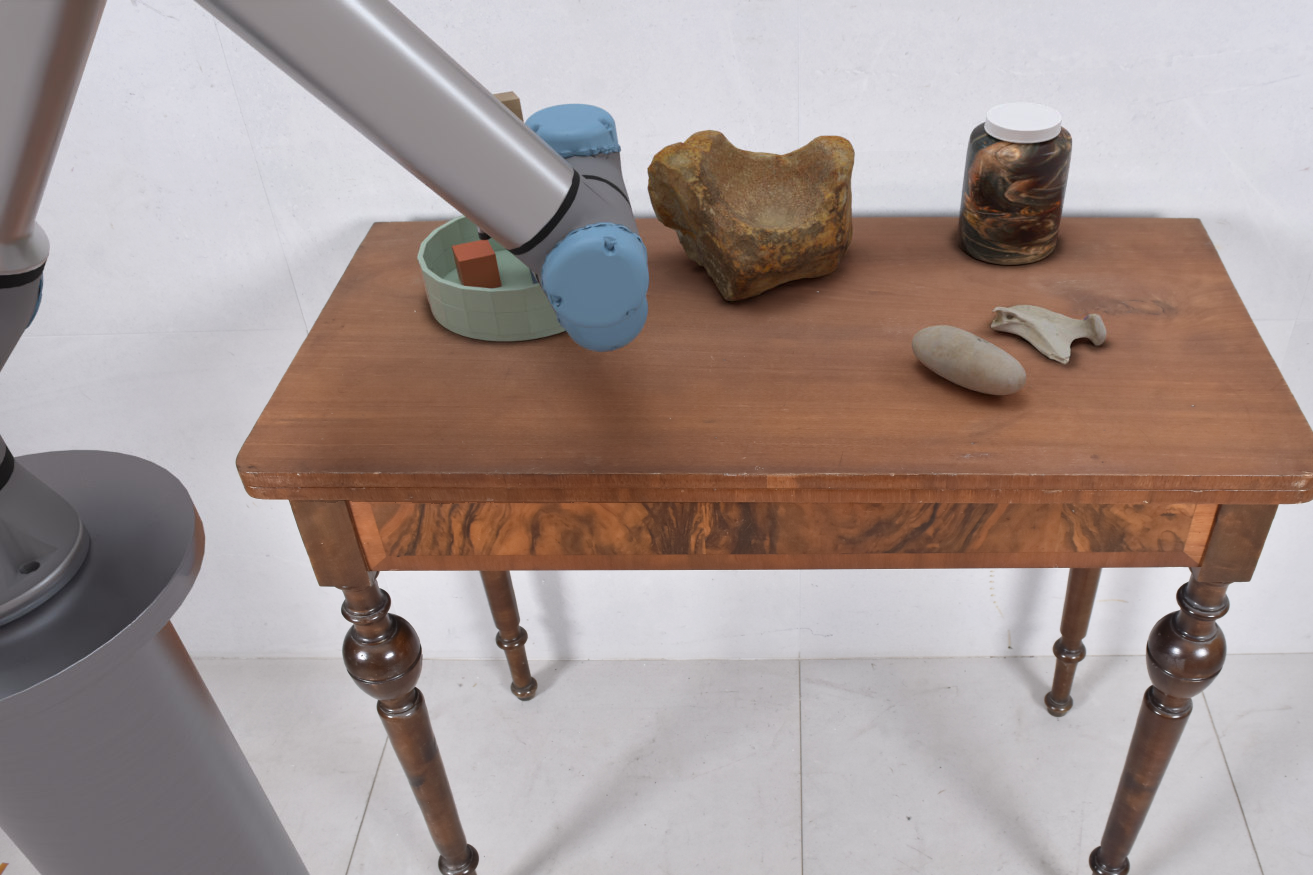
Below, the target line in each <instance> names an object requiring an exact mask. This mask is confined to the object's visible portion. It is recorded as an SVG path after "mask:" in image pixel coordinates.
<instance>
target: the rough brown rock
mask: <svg viewBox="0 0 1313 875" xmlns="http://www.w3.org/2000/svg"><path fill="white" fill-rule="evenodd" d="M855 156H856V154H855V149H854V146H853V144H852V143H851V142H850V140H849V139H847V138H846V137H843V136H841V135H819V136H816V137H814V138H813V139H812V140H810V141H809V142H808V143H807V144H805V145H803V146H801V147H798V148H797V149H795V150H792V151H790V152H787V153H784V154H778V153H773V152H764V151H751V150H746V149H741V148H738V147H737V146H735V145H734V144H733V143H732V142H730V140H729V139H728V138H727V137H726V136H725V134H724V133H723V132H721V131H719V130H713V129H705V130H699V131H697V132H694V133H692V134H691V135H690V136H689V137H687V138H686V139H685V140H684V141H678V142H675V143H673V144H672V143H671V144H669V145H666V146H664V147H663V148H662V149H660V150H659V151H658V152H657V153H654V155H653V157H652V160H651V162H650V164H649V165H648V167H647V176H648V180H647V193H648V196H649V201H650V204H651V208H652V210H653V212H654V215H655V216H656V219H657V220H658V222H660V223H662V225H663V226H664V227H667V228H668V229H671V230H673V231H675V233H676V235H677V238H678V241H679V244H680V245H681V246H682V248H683V250H684V252H685V254H686V256H687V257H688V259H690V260H692V261H694V262H695V263H697V265H698V266H700V267H703V268H704V269H705V270H706V272H707V276H708V277H710V278H712V280H713V282H714V284H715V286H716V288H717V289H718V292H720V294H721V295H722V297H723V298H724V300H725V301H727V302H737V301H741V300H746V299H749V298H752V297H755V296H759V295H761V294H763V293H764V292H766V291H769V290H772V289H774V288H775V287H778V286H779V285H781V284H785V283H788V282H791V281H795V280H801V279H812V278H813V279H814V278H819V277H822V276H826V275H829V274H831V273H833V272H835V271H836V270H837V269H838V267H839V265H840V263H841V262H842V261H843V259H844V258H845V257H846V256H847V253H848V250H849V247H850V245H851V243H852V239H853V231H854V230H853V229H854V227H853V206H852V205H853V204H852V203H853V193H852V177H853V170H854V166H855Z"/></svg>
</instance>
